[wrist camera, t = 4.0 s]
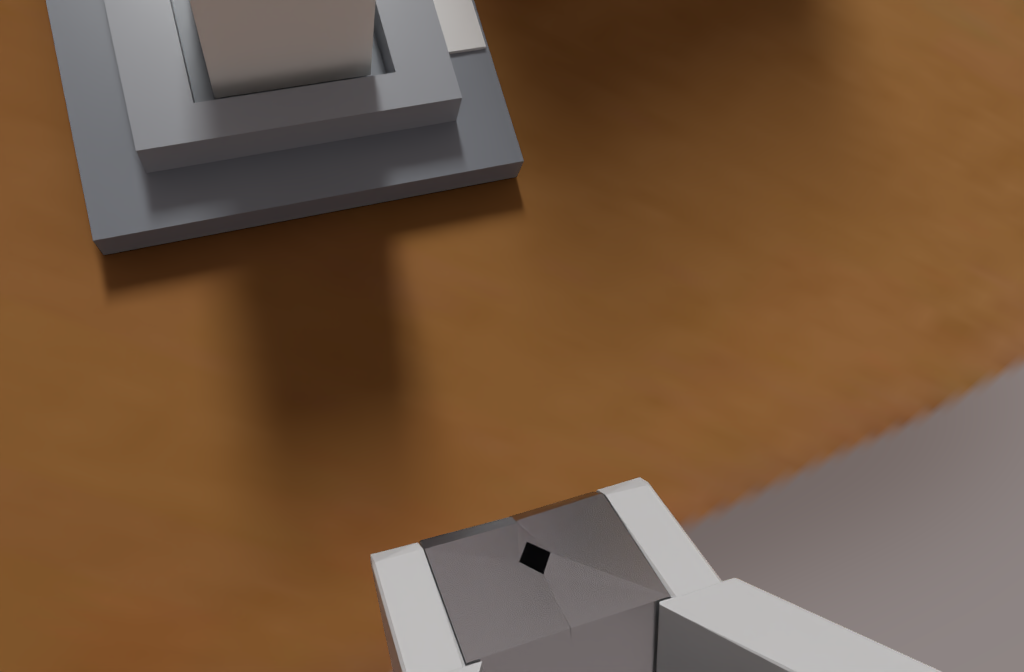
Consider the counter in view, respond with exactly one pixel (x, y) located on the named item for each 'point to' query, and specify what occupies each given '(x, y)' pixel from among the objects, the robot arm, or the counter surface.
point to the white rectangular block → (283, 42)
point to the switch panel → (270, 122)
